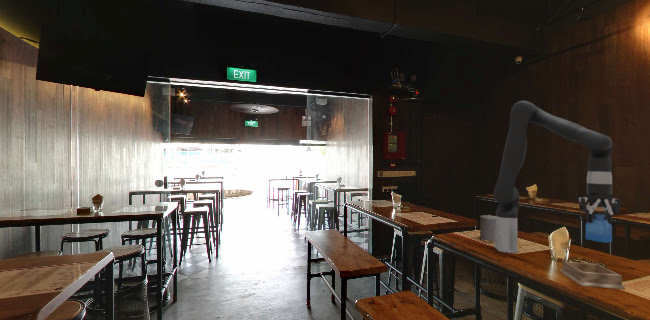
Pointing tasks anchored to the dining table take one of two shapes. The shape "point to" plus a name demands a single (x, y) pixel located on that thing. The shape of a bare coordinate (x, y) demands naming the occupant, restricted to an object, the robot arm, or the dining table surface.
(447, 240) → the dining table surface
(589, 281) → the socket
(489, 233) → the pillar candle
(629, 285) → the dining table surface
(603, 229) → the perfume bottle
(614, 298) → the dining table surface
